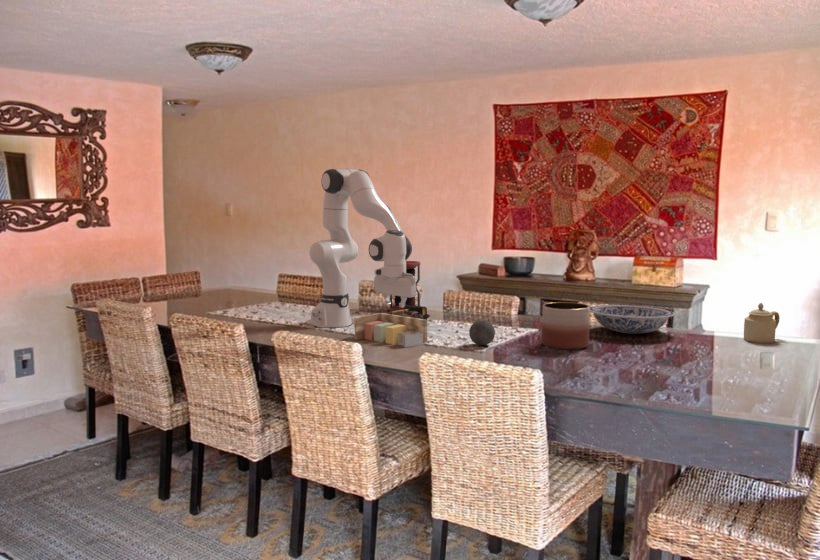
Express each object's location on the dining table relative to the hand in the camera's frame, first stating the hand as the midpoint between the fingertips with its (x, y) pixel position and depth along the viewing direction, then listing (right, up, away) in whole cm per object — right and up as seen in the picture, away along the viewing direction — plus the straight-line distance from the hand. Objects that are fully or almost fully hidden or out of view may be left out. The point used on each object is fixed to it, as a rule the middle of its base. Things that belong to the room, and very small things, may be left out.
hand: (394, 306), depth 263 cm
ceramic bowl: (+99, -12, +15) cm, 101 cm away
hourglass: (+4, -6, +75) cm, 75 cm away
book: (+1, -15, +2) cm, 15 cm away
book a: (-8, -14, +10) cm, 19 cm away
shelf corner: (-2, -14, +4) cm, 15 cm away
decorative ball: (+34, -15, -6) cm, 38 cm away
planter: (+66, -15, -8) cm, 68 cm away
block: (+6, -15, -4) cm, 17 cm away
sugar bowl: (+146, -14, 0) cm, 146 cm away
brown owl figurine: (+7, -12, +24) cm, 28 cm away
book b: (-4, -14, +6) cm, 16 cm away
